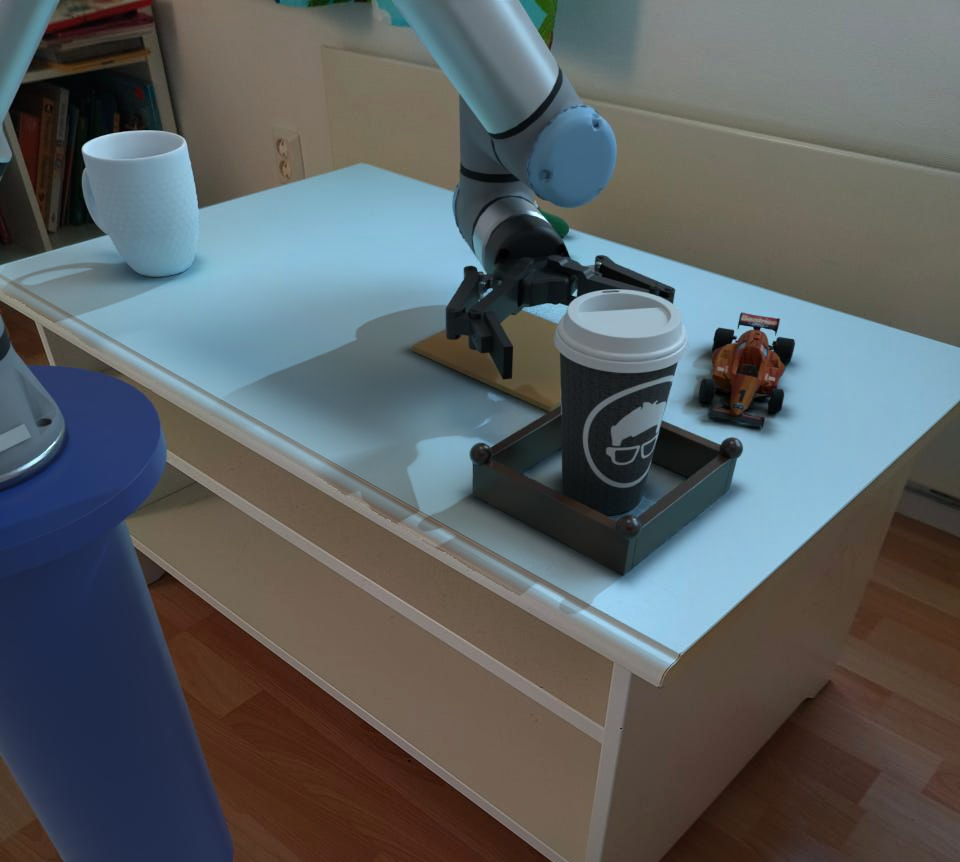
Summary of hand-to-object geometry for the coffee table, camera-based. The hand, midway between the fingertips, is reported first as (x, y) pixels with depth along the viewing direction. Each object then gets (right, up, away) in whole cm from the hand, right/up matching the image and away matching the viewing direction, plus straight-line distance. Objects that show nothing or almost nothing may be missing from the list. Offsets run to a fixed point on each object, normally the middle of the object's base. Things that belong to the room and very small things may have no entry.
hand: (591, 354), depth 70 cm
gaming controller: (-1, +26, +40) cm, 48 cm away
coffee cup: (+1, -11, +2) cm, 11 cm away
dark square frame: (+1, -11, +2) cm, 11 cm away
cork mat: (-4, +6, +19) cm, 20 cm away
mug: (-47, +22, +35) cm, 63 cm away
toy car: (+16, +2, +16) cm, 23 cm away
